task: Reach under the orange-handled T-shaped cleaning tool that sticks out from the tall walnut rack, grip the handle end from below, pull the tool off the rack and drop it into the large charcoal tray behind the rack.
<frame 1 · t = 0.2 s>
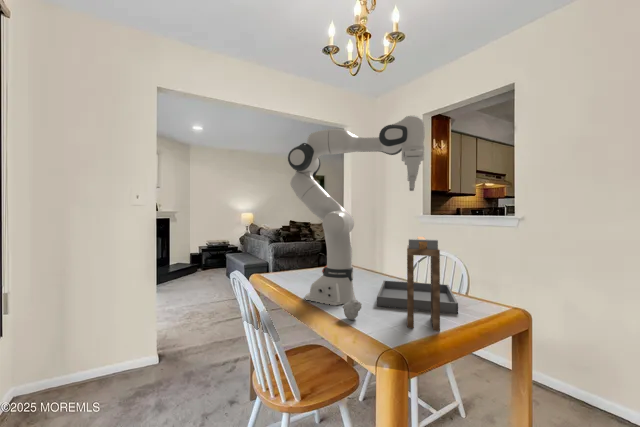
hand: (411, 189, 117), 48 cm above the table, tool pointing down, fingers open, 8 cm apart
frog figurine: (351, 319, 102), on the table
tray: (415, 299, 126), on the table
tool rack: (422, 322, 98), on the table
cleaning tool: (421, 245, 104), point 26 cm above the table, touching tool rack
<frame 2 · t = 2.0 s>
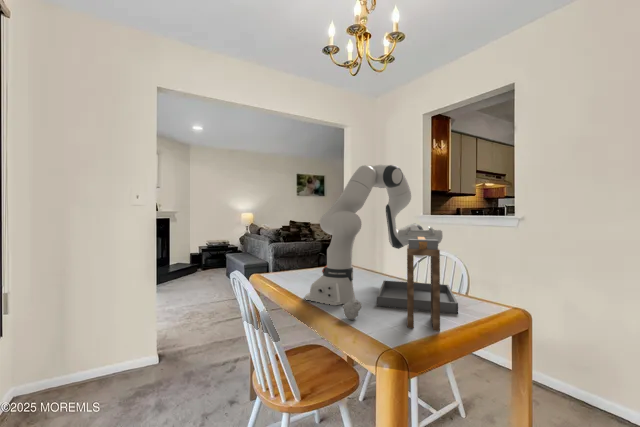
hand: (419, 228, 132), 31 cm above the table, tool pointing upward, fingers open, 8 cm apart
nothing on the table moved.
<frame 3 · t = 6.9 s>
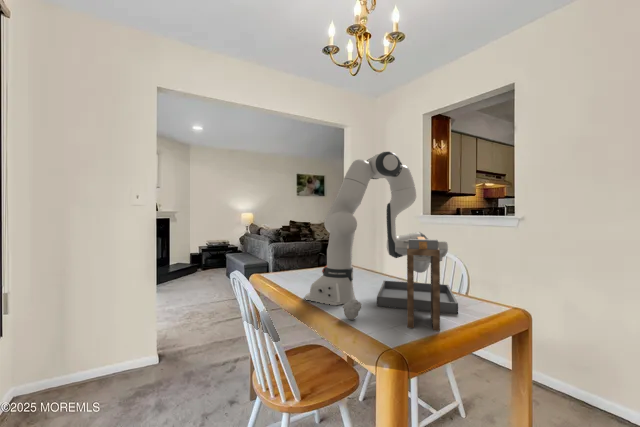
hand: (421, 239, 111), 28 cm above the table, tool pointing upward, fingers closed on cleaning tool, 2 cm apart
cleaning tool: (421, 245, 104), point 26 cm above the table, touching gripper, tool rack
everything else where it was.
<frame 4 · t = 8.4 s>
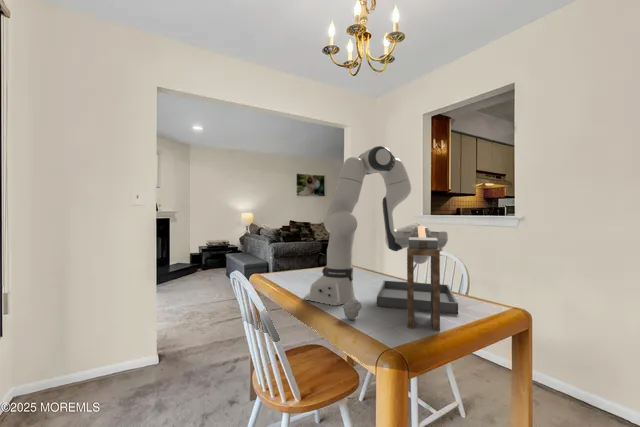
hand: (421, 229, 111), 32 cm above the table, tool pointing upward, fingers closed on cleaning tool, 2 cm apart
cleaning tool: (421, 239, 105), point 28 cm above the table, tilted 12°, touching gripper
everything else where it was.
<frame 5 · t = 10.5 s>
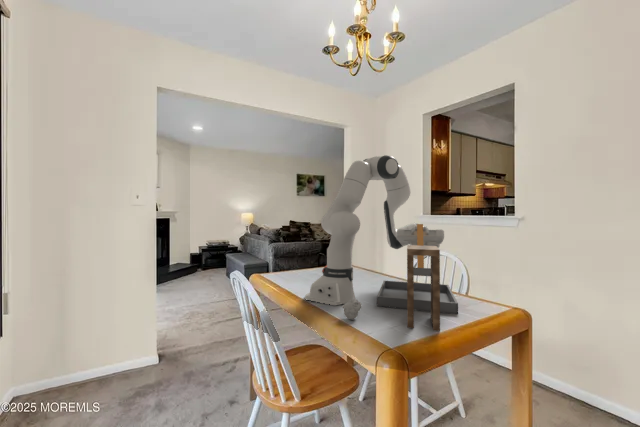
hand: (420, 227, 123), 32 cm above the table, tool pointing upward, fingers closed on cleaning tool, 2 cm apart
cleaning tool: (420, 250, 124), point 22 cm above the table, tilted 74°, touching gripper
everything else where it was.
when the fingers open (21 cm above the table, at t = 12.7 s): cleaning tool drops 2 cm and tips over, resting on arm, tray.
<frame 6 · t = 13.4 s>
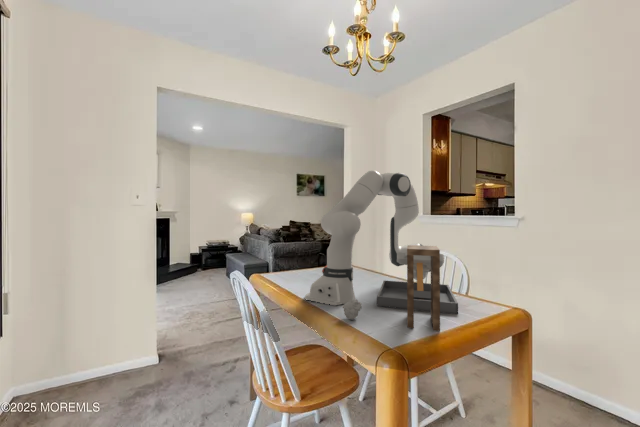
hand: (420, 252, 124), 21 cm above the table, tool pointing upward, fingers open, 8 cm apart
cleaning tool: (419, 277, 128), point 9 cm above the table, tilted 51°, touching arm, tray
everything else where it was.
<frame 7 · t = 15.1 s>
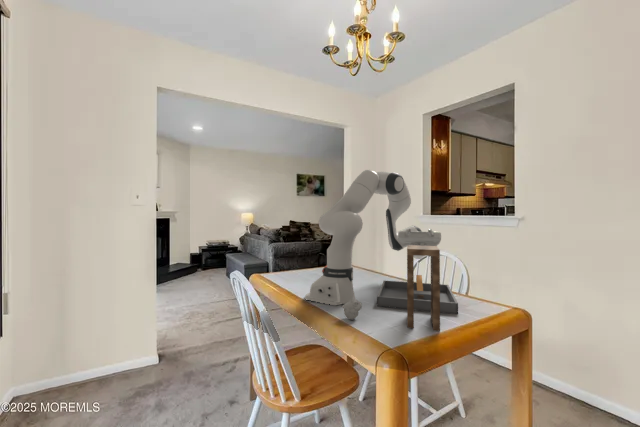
hand: (419, 230, 137), 30 cm above the table, tool pointing upward, fingers open, 8 cm apart
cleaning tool: (419, 289, 132), point 3 cm above the table, tilted 11°, touching tray
everything else where it was.
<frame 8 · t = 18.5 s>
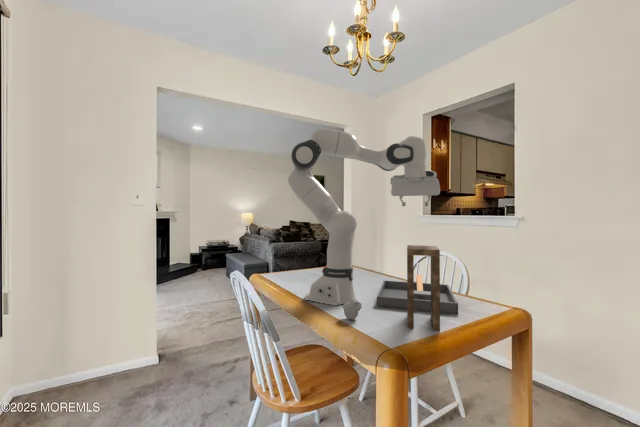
hand: (415, 206, 124), 41 cm above the table, tool pointing down, fingers open, 8 cm apart
nothing on the table moved.
at the end: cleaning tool inside the target area on the tray (7.8 cm from its centre), point 2.7 cm above the tray's base; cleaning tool touching tray; the gripper is holding nothing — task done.
